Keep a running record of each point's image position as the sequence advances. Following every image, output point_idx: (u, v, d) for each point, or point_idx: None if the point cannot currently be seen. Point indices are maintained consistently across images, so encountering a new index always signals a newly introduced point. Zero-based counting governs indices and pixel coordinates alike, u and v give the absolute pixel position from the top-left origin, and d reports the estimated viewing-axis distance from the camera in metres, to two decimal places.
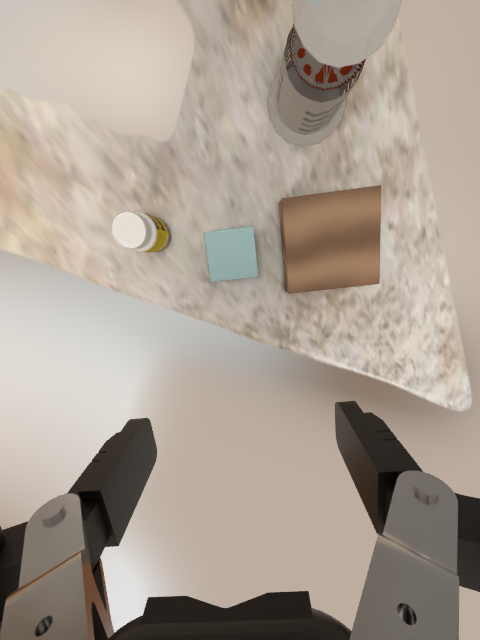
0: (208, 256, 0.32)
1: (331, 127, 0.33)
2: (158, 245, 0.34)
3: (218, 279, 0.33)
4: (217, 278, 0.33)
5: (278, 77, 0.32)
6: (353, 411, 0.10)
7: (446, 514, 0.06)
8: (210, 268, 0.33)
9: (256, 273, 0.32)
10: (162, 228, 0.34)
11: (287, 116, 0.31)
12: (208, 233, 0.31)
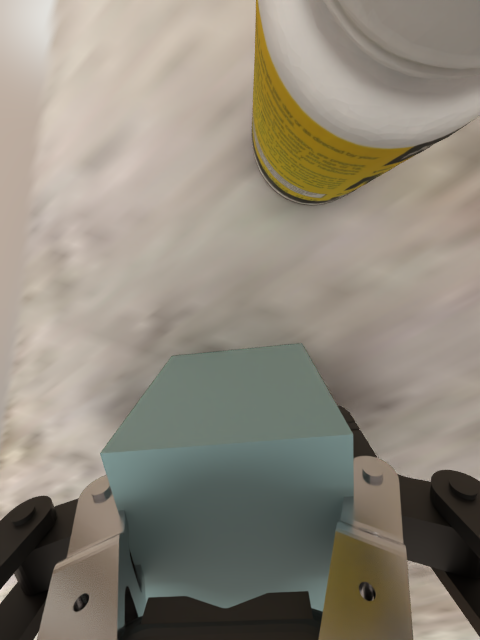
0: (229, 448, 0.06)
1: None
2: (288, 151, 0.06)
3: (117, 486, 0.07)
4: (122, 480, 0.06)
5: None
6: None
7: (386, 492, 0.06)
8: (168, 454, 0.06)
9: None
10: (370, 178, 0.07)
11: None
12: (345, 454, 0.06)
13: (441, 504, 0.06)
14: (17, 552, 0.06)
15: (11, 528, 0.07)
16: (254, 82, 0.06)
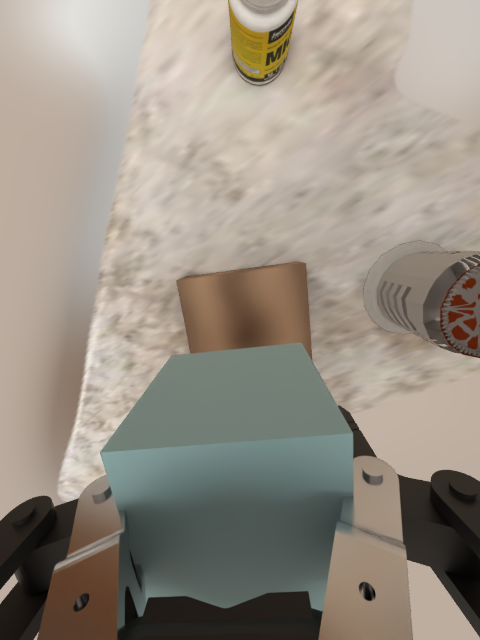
0: (229, 447, 0.06)
1: (379, 320, 0.28)
2: (241, 43, 0.19)
3: (117, 485, 0.06)
4: (122, 480, 0.06)
5: (443, 253, 0.26)
6: None
7: (386, 492, 0.06)
8: (168, 453, 0.06)
9: None
10: (270, 55, 0.20)
11: (402, 265, 0.24)
12: (345, 453, 0.06)
13: (441, 504, 0.06)
14: (17, 551, 0.06)
15: (11, 528, 0.07)
16: (230, 21, 0.19)
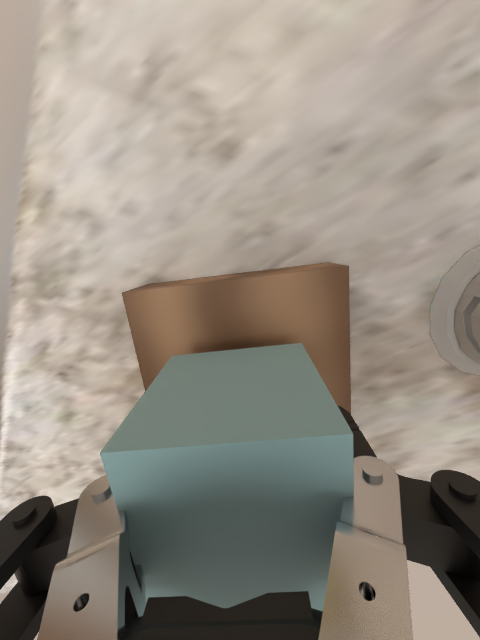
0: (229, 448, 0.06)
1: (453, 356, 0.17)
2: None
3: (117, 485, 0.06)
4: (122, 480, 0.06)
5: None
6: None
7: (386, 492, 0.06)
8: (168, 453, 0.06)
9: None
10: None
11: None
12: (345, 453, 0.06)
13: (441, 504, 0.06)
14: (17, 551, 0.06)
15: (11, 528, 0.07)
16: None
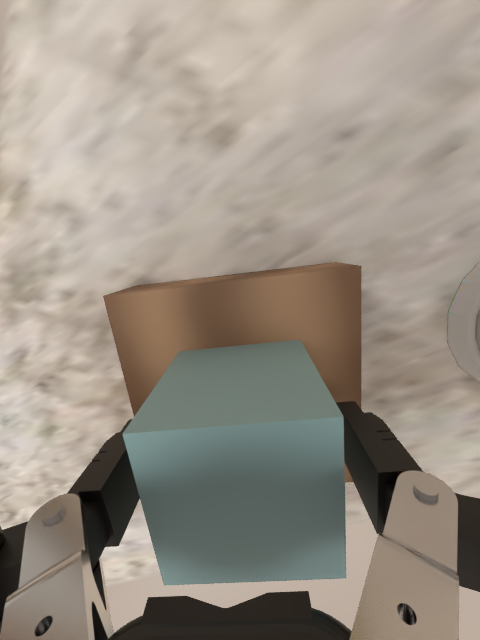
0: (235, 429, 0.07)
1: (474, 367, 0.16)
2: None
3: (136, 463, 0.07)
4: (141, 458, 0.07)
5: None
6: (353, 411, 0.10)
7: (446, 514, 0.06)
8: (182, 434, 0.07)
9: (174, 581, 0.09)
10: None
11: None
12: (336, 434, 0.07)
13: None
14: None
15: None
16: None
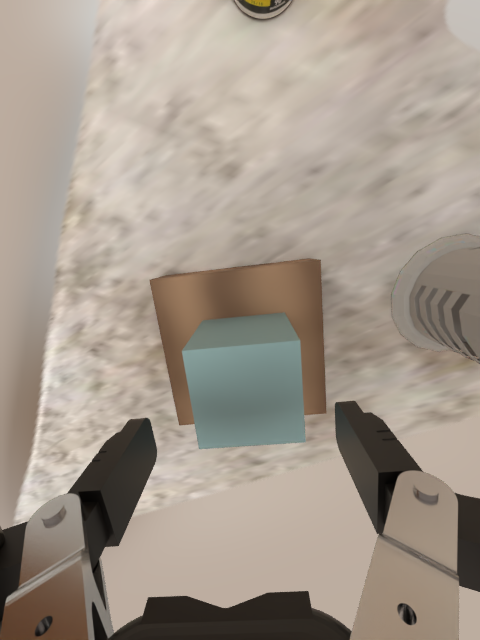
0: (243, 348, 0.13)
1: (410, 334, 0.22)
2: None
3: (188, 368, 0.13)
4: (191, 365, 0.13)
5: None
6: (353, 411, 0.10)
7: (446, 514, 0.06)
8: (214, 351, 0.13)
9: (205, 446, 0.15)
10: None
11: (448, 265, 0.18)
12: (297, 350, 0.13)
13: None
14: None
15: None
16: None
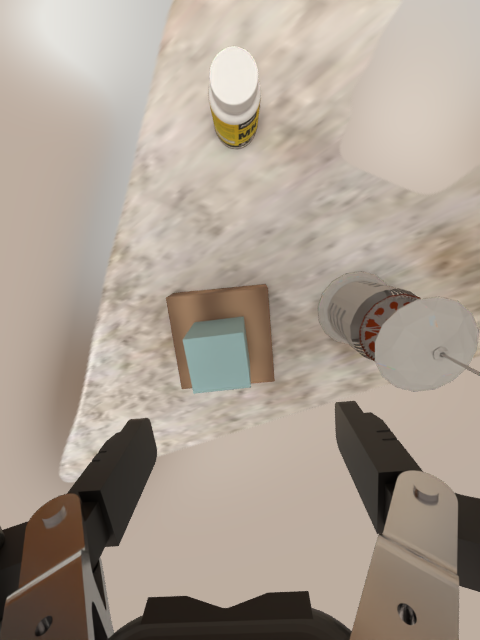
0: (214, 337, 0.25)
1: (330, 333, 0.34)
2: (219, 126, 0.25)
3: (186, 348, 0.26)
4: (187, 347, 0.26)
5: (379, 281, 0.33)
6: (353, 411, 0.10)
7: (446, 514, 0.06)
8: (199, 339, 0.25)
9: (197, 391, 0.27)
10: (241, 134, 0.26)
11: (344, 291, 0.31)
12: (242, 337, 0.25)
13: None
14: None
15: None
16: None
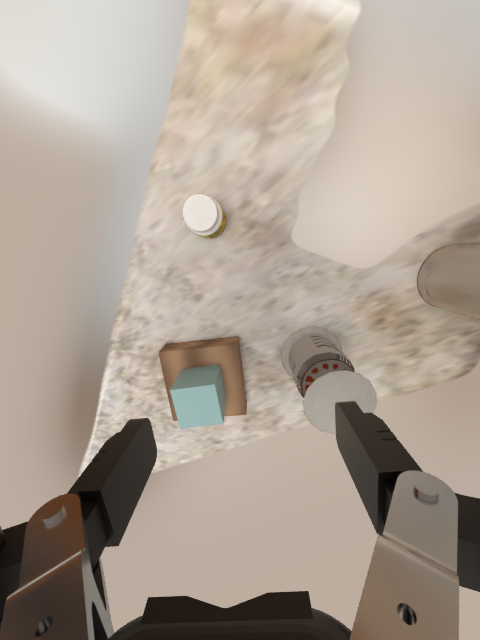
0: (193, 388, 0.34)
1: (292, 374, 0.43)
2: None
3: (173, 396, 0.34)
4: (174, 395, 0.34)
5: (328, 334, 0.41)
6: (353, 411, 0.10)
7: (446, 514, 0.06)
8: (182, 389, 0.34)
9: (182, 427, 0.35)
10: (211, 236, 0.34)
11: (298, 345, 0.39)
12: (214, 388, 0.34)
13: None
14: None
15: None
16: None
